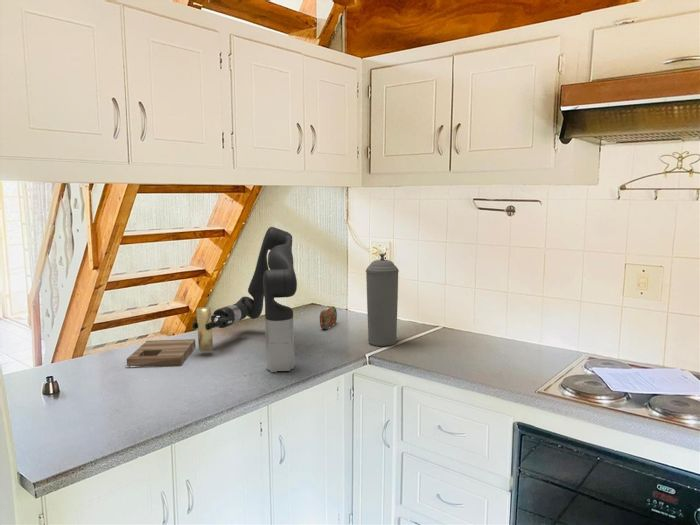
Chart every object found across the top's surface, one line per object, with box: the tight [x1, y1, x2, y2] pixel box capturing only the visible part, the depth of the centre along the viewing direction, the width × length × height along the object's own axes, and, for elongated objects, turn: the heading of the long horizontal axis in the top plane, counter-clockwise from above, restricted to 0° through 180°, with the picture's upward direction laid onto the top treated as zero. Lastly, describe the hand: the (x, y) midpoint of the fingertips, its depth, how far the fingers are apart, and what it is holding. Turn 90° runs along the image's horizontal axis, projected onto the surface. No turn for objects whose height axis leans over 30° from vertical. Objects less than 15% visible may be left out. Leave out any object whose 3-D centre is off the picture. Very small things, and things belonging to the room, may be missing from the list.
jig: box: [126, 338, 197, 367], centre depth 183 cm, size 22×18×3 cm
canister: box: [365, 253, 400, 347], centre depth 196 cm, size 13×13×35 cm
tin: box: [319, 306, 338, 330], centre depth 222 cm, size 15×3×8 cm, turn 161°
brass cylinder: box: [196, 306, 214, 352], centre depth 184 cm, size 5×5×15 cm
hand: (200, 326), depth 182 cm, fingers closed on brass cylinder, 5 cm apart
